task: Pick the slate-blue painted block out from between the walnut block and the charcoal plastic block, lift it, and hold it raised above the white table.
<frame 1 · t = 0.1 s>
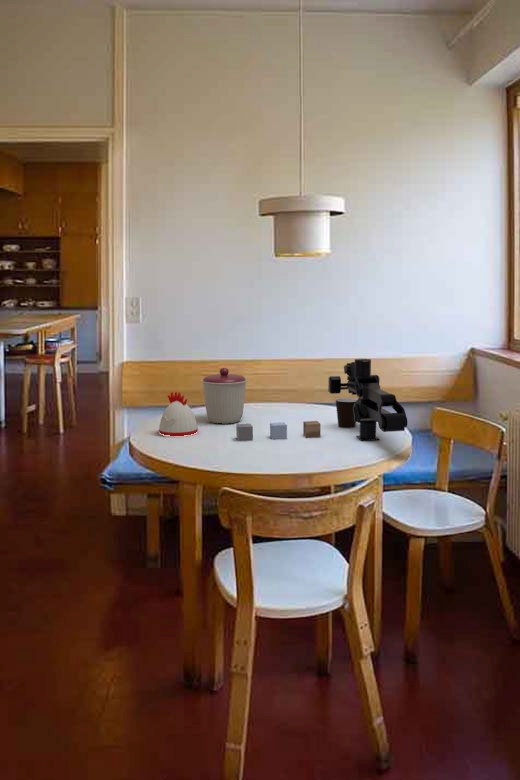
hand: (347, 381, 278), 17 cm above the table, tool horizontal, fingers open, 9 cm apart
canister: (224, 422, 287), on the table
slate blue block: (278, 437, 259), on the table
kitchen timer: (178, 433, 268), on the table
charcoal block: (244, 439, 257), on the table
walnut block: (311, 436, 261), on the table
coffee mug: (348, 426, 278), on the table
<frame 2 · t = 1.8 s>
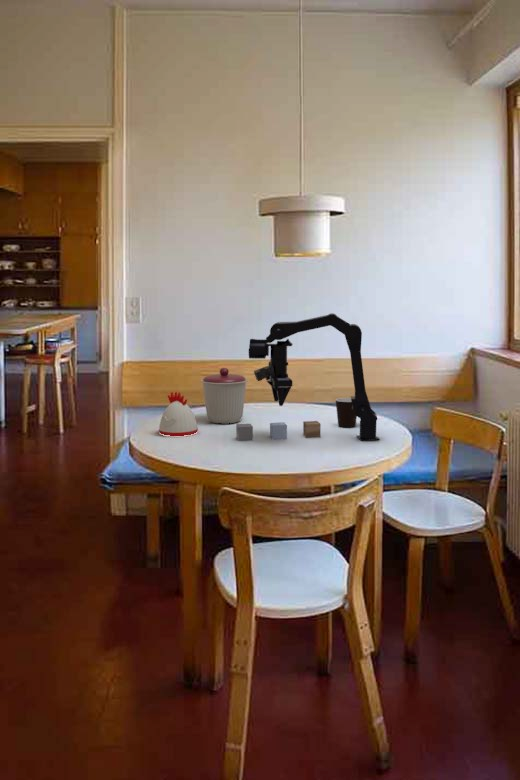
hand: (278, 403, 257), 12 cm above the table, tool pointing down, fingers open, 9 cm apart
nothing on the table moved.
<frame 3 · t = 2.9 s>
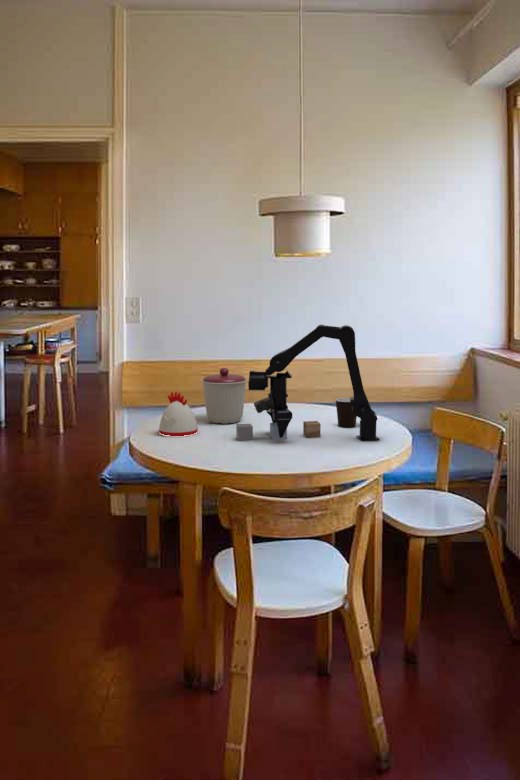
hand: (278, 434, 258), 1 cm above the table, tool pointing down, fingers open, 9 cm apart
nothing on the table moved.
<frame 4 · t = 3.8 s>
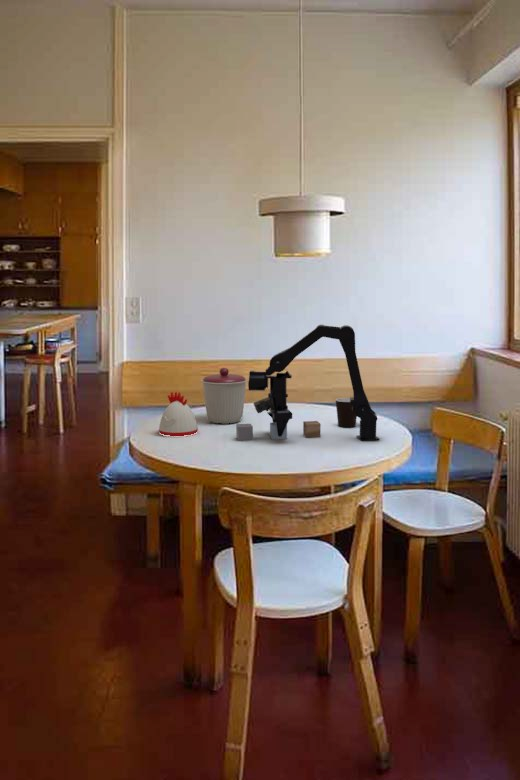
hand: (278, 434, 258), 1 cm above the table, tool pointing down, fingers closed on slate blue block, 5 cm apart
slate blue block: (278, 437, 259), on the table, touching gripper
everything else where it was.
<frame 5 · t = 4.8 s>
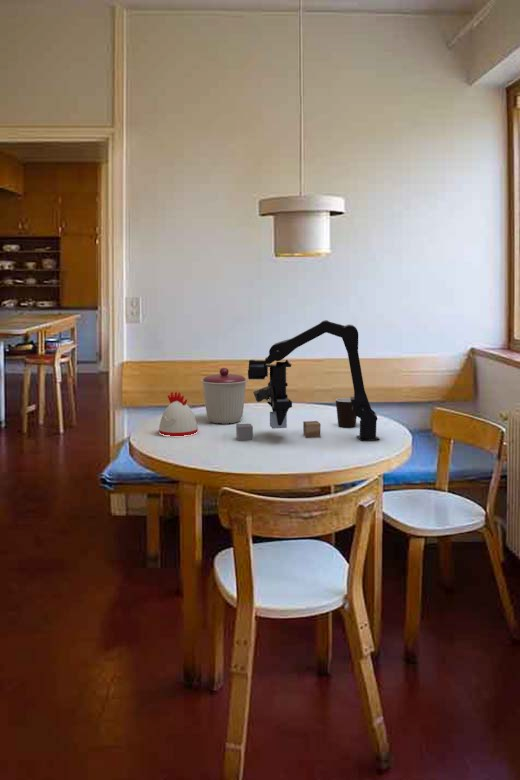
hand: (278, 423, 258), 5 cm above the table, tool pointing down, fingers closed on slate blue block, 5 cm apart
slate blue block: (278, 426, 258), point 4 cm above the table, touching gripper
everything else where it was.
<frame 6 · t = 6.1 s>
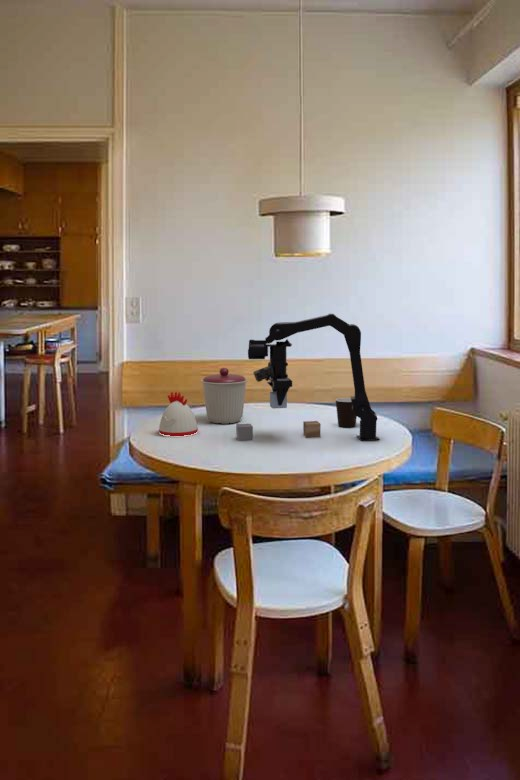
hand: (278, 404, 257), 12 cm above the table, tool pointing down, fingers closed on slate blue block, 5 cm apart
slate blue block: (278, 407, 257), point 11 cm above the table, touching gripper
everything else where it was.
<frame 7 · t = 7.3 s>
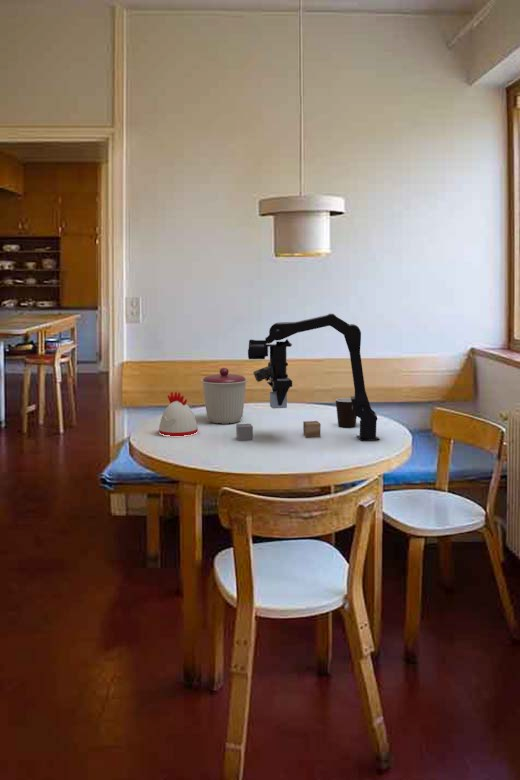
hand: (278, 404, 257), 12 cm above the table, tool pointing down, fingers closed on slate blue block, 5 cm apart
slate blue block: (278, 407, 257), point 11 cm above the table, touching gripper
everything else where it was.
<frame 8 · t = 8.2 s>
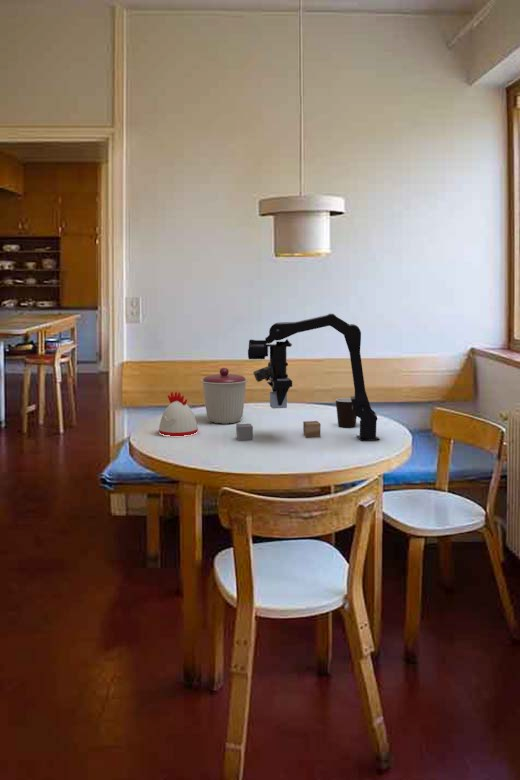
hand: (278, 404, 257), 12 cm above the table, tool pointing down, fingers closed on slate blue block, 5 cm apart
slate blue block: (278, 407, 257), point 11 cm above the table, touching gripper
everything else where it was.
at the end: slate blue block point 10.9 cm above the table; walnut block moved 0.1 cm from its start; charcoal block moved 0.1 cm from its start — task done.
